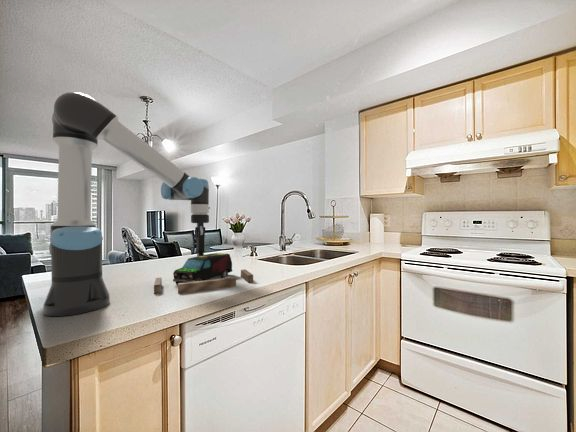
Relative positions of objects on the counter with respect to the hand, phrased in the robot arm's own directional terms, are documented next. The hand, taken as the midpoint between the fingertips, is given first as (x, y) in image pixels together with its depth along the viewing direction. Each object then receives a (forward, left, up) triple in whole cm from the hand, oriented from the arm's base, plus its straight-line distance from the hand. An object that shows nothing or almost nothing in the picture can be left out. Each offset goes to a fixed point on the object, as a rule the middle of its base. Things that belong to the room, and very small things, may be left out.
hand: (200, 267), depth 117 cm
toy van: (+1, -8, -4) cm, 9 cm away
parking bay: (0, -17, -4) cm, 17 cm away
